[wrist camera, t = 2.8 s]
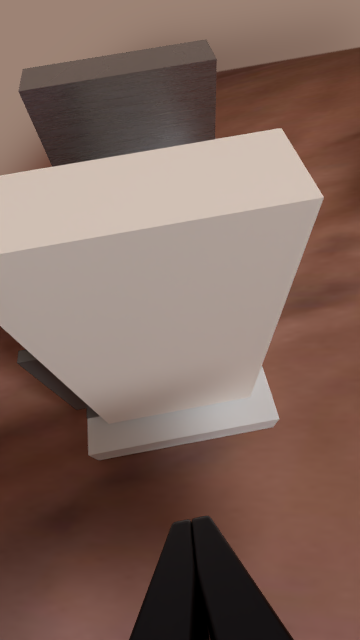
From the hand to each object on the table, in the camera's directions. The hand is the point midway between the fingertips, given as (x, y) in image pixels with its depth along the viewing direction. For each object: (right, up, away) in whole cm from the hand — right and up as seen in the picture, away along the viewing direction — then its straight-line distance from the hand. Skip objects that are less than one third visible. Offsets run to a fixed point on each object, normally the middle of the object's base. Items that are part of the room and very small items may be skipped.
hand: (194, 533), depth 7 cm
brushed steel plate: (-2, +11, +13) cm, 17 cm away
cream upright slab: (-1, +3, +7) cm, 8 cm away
